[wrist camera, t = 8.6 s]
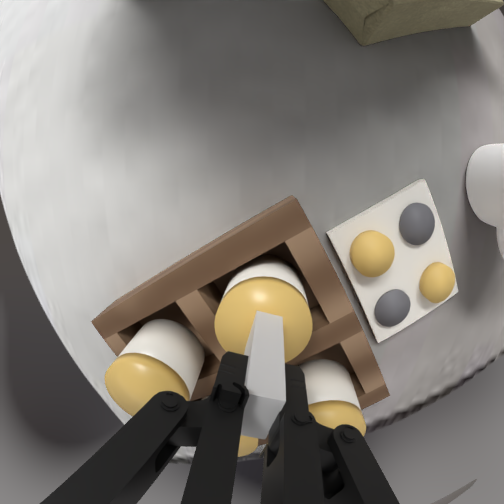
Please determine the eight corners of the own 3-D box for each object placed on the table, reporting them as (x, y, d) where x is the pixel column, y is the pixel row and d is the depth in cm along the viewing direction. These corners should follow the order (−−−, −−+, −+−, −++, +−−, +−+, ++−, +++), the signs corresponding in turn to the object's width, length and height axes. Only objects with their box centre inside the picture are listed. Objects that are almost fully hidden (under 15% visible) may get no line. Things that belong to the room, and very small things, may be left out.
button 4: (268, 377, 21) (266, 431, 15) (335, 347, 20) (352, 400, 14) (299, 415, 22) (302, 465, 16) (358, 391, 21) (374, 439, 15)
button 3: (214, 277, 22) (195, 310, 16) (280, 241, 21) (283, 265, 15) (252, 333, 23) (246, 378, 17) (315, 303, 22) (327, 343, 16)
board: (114, 301, 25) (91, 321, 21) (291, 195, 21) (296, 199, 17) (221, 427, 29) (215, 454, 25) (376, 367, 25) (389, 395, 21)
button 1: (125, 333, 21) (90, 374, 15) (175, 307, 20) (143, 351, 14) (166, 383, 22) (143, 429, 16) (218, 365, 21) (203, 417, 15)
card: (325, 232, 22) (331, 237, 20) (419, 179, 20) (432, 179, 18) (375, 337, 24) (382, 350, 22) (453, 288, 22) (464, 296, 20)
